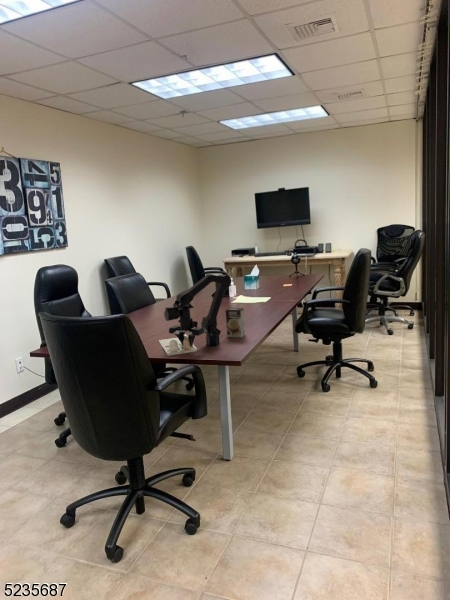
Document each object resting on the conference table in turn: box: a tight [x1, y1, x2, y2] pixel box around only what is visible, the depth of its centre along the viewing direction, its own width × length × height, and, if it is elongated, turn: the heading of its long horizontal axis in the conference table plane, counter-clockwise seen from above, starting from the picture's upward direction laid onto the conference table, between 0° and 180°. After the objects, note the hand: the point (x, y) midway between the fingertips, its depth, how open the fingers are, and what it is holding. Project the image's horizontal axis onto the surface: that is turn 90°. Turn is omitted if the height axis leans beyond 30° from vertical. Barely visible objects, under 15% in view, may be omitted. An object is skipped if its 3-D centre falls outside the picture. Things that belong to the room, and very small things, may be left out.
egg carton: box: [158, 337, 198, 357], centre depth 245 cm, size 32×16×2 cm, turn 16°
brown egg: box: [183, 338, 192, 351], centre depth 235 cm, size 4×4×7 cm
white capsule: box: [169, 340, 178, 353], centre depth 233 cm, size 4×4×7 cm
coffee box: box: [225, 307, 246, 338], centre depth 256 cm, size 9×6×16 cm
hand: (187, 346), depth 235 cm, fingers closed on brown egg, 4 cm apart
